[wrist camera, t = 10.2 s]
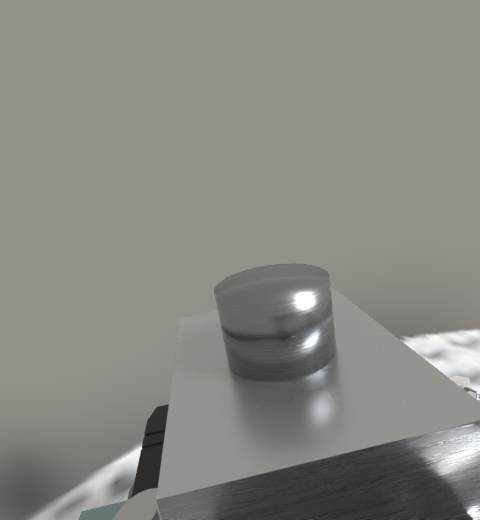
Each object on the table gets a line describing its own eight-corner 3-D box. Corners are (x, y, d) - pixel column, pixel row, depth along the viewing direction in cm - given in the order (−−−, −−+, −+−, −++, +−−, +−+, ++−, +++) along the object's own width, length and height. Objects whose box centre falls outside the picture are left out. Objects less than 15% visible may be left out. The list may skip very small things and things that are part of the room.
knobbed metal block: (353, 507, 13) (326, 237, 10) (486, 782, 7) (500, 311, 4) (230, 539, 12) (168, 267, 10) (259, 859, 6) (125, 392, 4)
